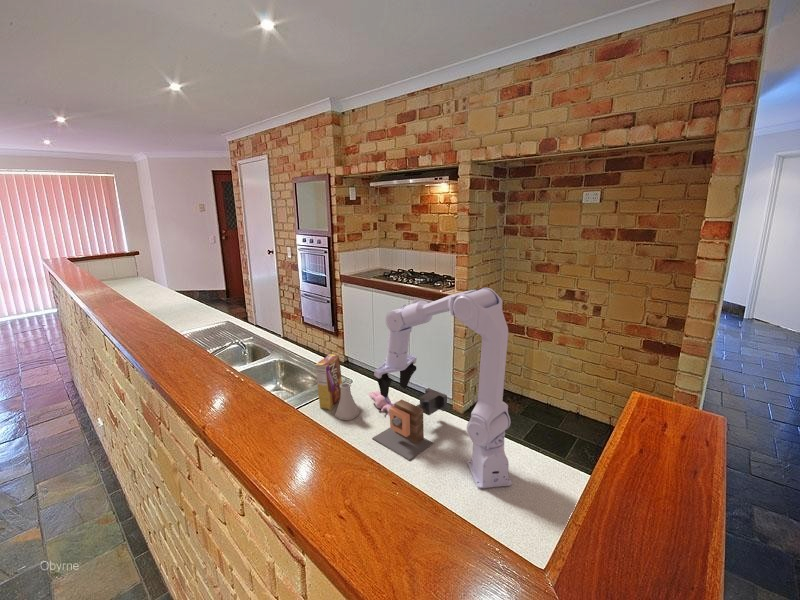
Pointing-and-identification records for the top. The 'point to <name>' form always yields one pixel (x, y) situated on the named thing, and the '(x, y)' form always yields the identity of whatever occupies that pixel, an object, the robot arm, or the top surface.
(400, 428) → the spacer
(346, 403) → the flask
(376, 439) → the mat
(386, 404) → the pink toy animal
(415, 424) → the bracket
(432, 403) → the shaft
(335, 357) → the candy box
